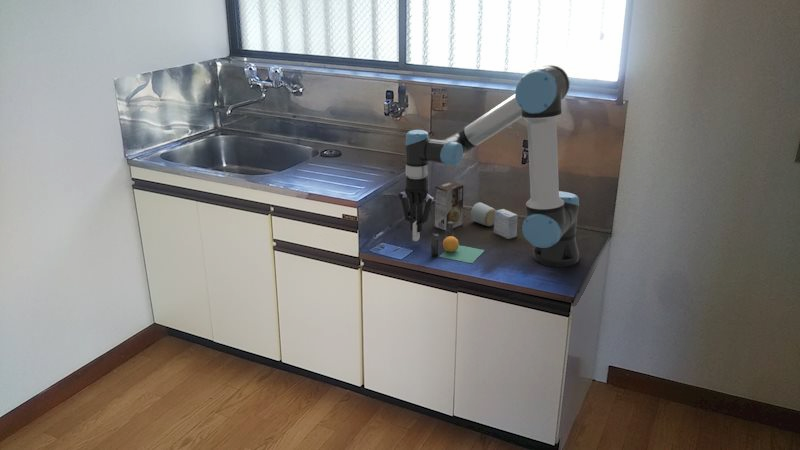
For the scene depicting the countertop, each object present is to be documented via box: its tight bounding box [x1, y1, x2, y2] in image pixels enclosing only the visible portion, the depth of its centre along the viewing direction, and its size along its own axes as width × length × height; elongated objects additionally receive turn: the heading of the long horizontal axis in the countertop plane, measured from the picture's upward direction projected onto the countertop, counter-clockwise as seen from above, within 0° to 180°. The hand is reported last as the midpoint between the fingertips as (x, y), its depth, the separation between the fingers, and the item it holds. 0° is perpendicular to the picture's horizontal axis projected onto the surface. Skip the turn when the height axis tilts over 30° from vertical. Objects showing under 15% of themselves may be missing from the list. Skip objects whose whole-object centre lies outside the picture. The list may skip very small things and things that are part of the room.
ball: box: [442, 235, 460, 252], centre depth 234 cm, size 6×6×6 cm
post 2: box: [445, 221, 454, 238], centre depth 240 cm, size 3×3×8 cm
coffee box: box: [434, 180, 464, 231], centre depth 255 cm, size 9×6×16 cm
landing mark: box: [438, 244, 486, 264], centre depth 233 cm, size 12×12×1 cm
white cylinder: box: [470, 201, 497, 227], centre depth 259 cm, size 11×8×8 cm
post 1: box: [430, 232, 440, 259], centre depth 230 cm, size 3×3×8 cm
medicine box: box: [493, 208, 519, 240], centre depth 248 cm, size 8×4×9 cm, turn 34°
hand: (416, 239), depth 240 cm, fingers closed
